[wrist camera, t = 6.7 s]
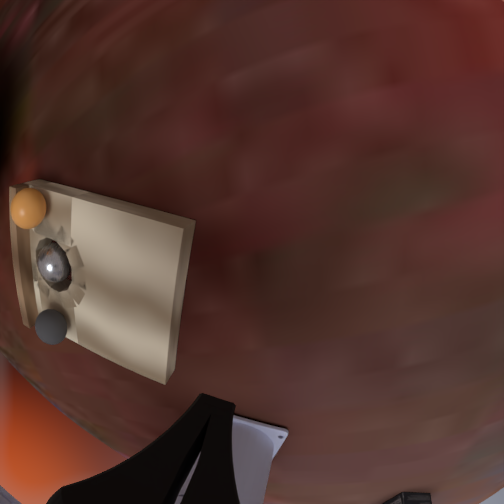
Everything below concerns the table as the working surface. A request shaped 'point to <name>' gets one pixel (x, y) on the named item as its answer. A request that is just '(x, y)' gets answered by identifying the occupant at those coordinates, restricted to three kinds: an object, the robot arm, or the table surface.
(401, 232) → the table surface
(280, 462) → the table surface
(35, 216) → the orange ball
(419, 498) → the small box
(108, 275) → the bearing plate
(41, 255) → the steel ball
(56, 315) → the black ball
